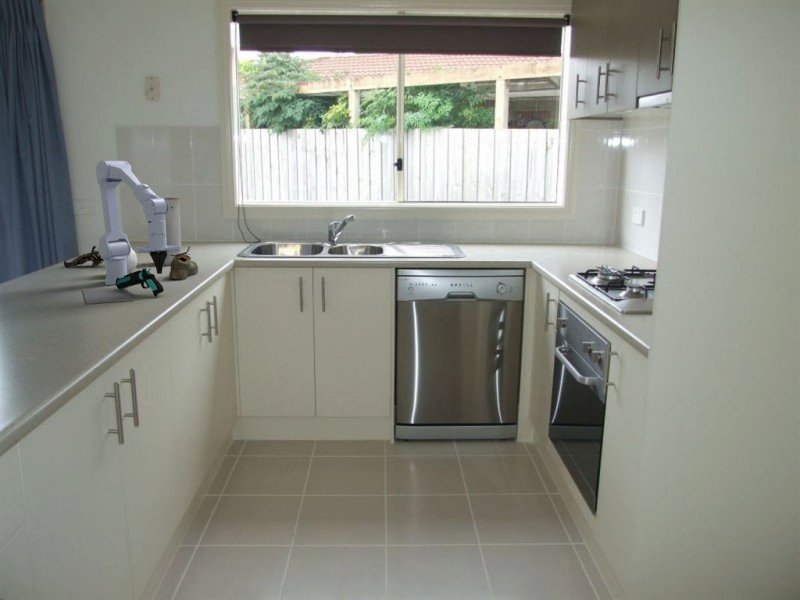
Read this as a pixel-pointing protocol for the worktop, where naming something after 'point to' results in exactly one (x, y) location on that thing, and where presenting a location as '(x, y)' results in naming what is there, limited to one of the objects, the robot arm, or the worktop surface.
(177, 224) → the vase
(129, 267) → the decorative ball
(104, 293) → the mat
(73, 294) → the worktop surface
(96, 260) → the figurine
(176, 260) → the hiking shoe
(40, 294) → the worktop surface
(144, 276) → the toy gun
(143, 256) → the worktop surface
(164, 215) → the robot arm
